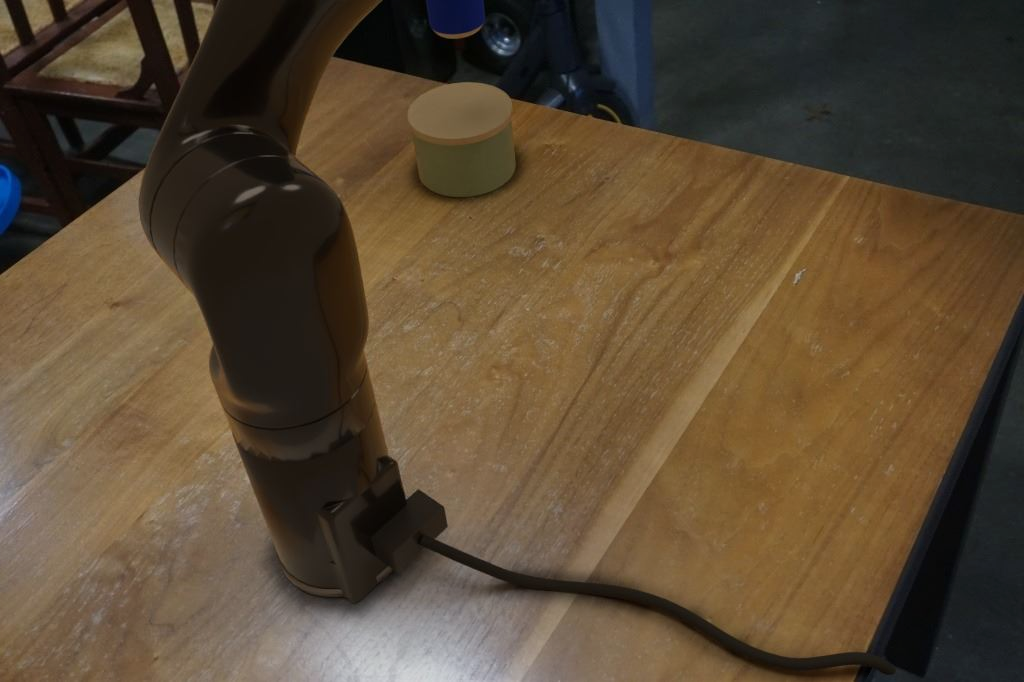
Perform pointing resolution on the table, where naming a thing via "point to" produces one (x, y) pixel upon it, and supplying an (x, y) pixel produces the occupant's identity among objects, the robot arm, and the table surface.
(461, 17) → the beverage can
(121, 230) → the table surface
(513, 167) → the cookie tin
